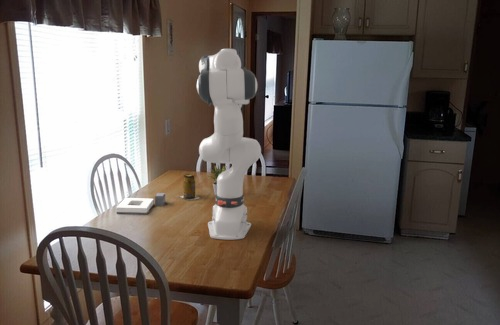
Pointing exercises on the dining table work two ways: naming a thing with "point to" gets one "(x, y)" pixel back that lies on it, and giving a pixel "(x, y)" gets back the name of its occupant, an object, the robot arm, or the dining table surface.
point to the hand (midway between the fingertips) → (228, 113)
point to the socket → (135, 206)
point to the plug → (160, 199)
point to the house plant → (216, 173)
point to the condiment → (189, 187)
